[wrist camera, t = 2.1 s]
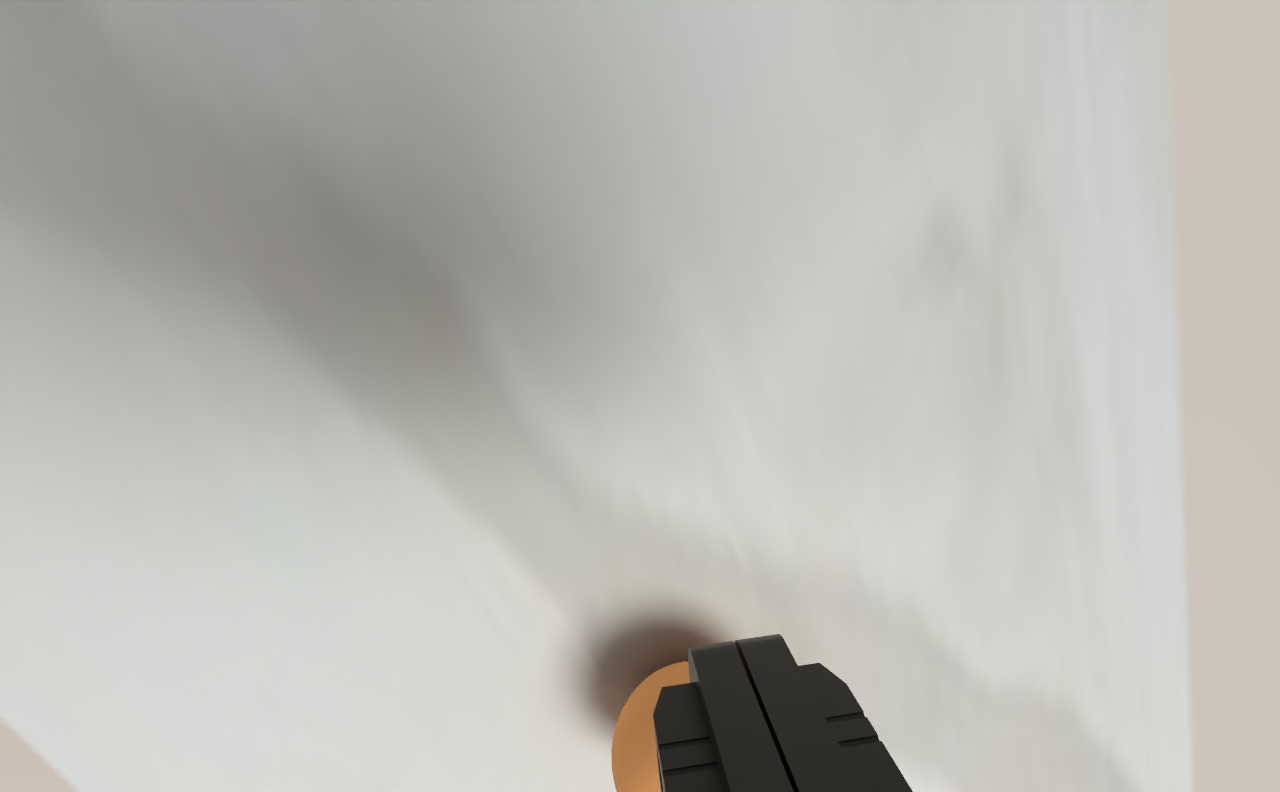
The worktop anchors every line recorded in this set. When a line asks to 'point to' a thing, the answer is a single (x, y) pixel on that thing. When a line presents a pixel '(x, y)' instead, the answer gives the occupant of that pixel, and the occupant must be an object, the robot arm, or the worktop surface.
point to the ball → (642, 732)
